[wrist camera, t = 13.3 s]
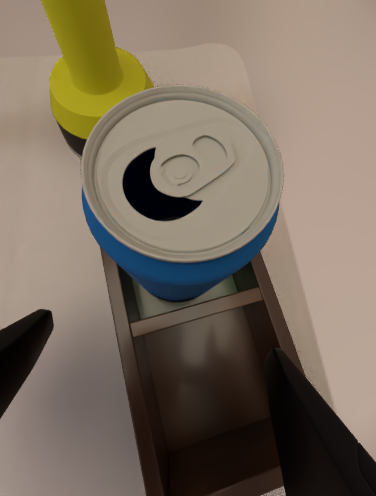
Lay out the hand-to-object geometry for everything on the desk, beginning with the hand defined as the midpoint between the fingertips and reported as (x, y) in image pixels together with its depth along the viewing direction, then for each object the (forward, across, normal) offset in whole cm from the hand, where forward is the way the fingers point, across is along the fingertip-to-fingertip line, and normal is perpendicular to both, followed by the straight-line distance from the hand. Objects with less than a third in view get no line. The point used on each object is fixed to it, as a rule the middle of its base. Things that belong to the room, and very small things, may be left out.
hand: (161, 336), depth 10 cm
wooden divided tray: (+7, -2, +5) cm, 9 cm away
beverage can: (+9, 0, +2) cm, 9 cm away
